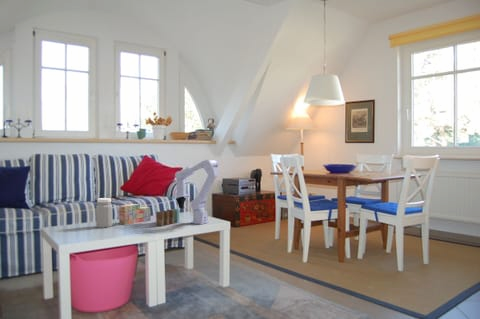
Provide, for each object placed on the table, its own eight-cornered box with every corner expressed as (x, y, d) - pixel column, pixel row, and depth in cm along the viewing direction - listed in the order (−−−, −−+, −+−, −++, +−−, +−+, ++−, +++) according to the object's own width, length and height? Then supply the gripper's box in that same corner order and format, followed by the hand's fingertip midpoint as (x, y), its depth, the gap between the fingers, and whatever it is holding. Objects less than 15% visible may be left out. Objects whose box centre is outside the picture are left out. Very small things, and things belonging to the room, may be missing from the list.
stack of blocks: (144, 219, 275) (144, 202, 274) (150, 220, 271) (150, 202, 271) (119, 224, 258) (118, 205, 257) (124, 225, 254) (124, 206, 254)
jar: (107, 228, 242) (107, 199, 241) (93, 228, 244) (92, 199, 243) (115, 225, 251) (115, 197, 251) (101, 225, 253) (101, 197, 253)
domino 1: (158, 225, 253) (158, 211, 253) (163, 226, 250) (163, 212, 250) (156, 225, 252) (156, 211, 251) (161, 226, 249) (161, 212, 249)
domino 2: (163, 223, 257) (163, 210, 257) (169, 224, 255) (169, 211, 254) (161, 224, 256) (161, 210, 256) (167, 225, 253) (167, 211, 253)
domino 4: (173, 221, 266) (173, 208, 266) (179, 222, 263) (179, 209, 263) (172, 222, 264) (171, 208, 264) (177, 222, 262) (177, 209, 261)
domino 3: (168, 222, 262) (168, 209, 261) (174, 223, 259) (174, 210, 259) (166, 223, 260) (166, 209, 260) (172, 223, 257) (172, 210, 257)
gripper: (183, 187, 276) (183, 206, 276) (169, 189, 264) (169, 209, 264) (191, 188, 272) (191, 207, 273) (177, 189, 260) (177, 209, 260)
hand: (180, 208), depth 268 cm, fingers closed
